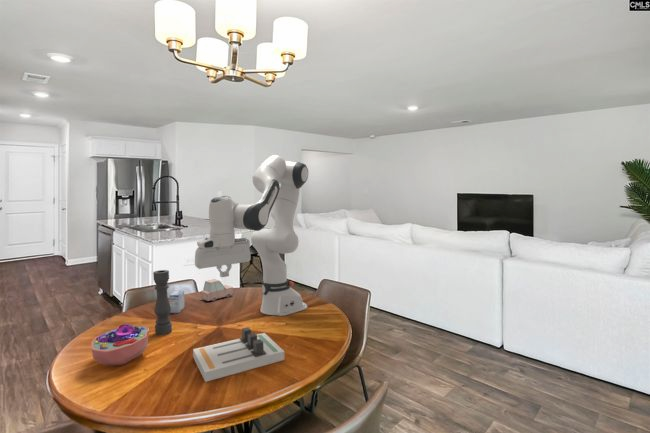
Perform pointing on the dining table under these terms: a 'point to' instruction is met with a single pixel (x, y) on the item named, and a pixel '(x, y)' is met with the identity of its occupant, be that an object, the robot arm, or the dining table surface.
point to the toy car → (215, 290)
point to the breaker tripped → (251, 340)
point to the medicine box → (177, 301)
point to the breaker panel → (234, 357)
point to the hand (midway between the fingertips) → (224, 276)
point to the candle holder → (162, 303)
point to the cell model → (120, 344)
